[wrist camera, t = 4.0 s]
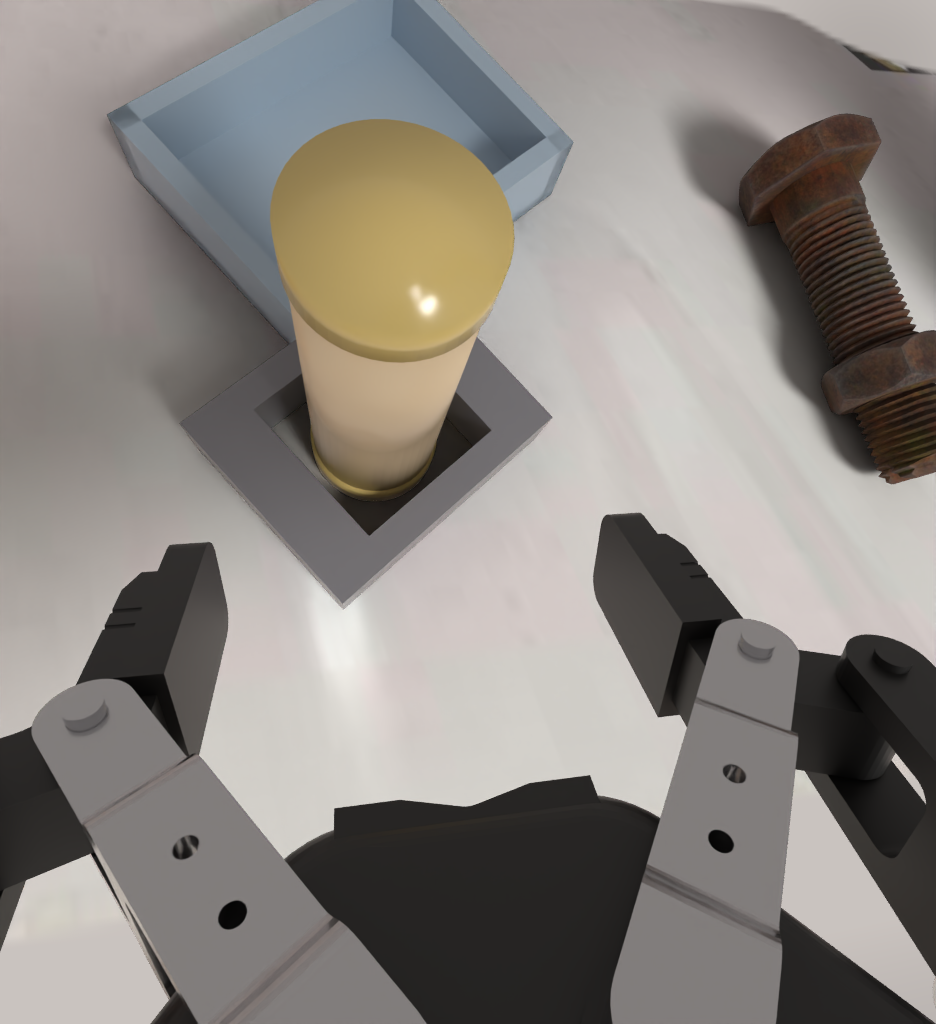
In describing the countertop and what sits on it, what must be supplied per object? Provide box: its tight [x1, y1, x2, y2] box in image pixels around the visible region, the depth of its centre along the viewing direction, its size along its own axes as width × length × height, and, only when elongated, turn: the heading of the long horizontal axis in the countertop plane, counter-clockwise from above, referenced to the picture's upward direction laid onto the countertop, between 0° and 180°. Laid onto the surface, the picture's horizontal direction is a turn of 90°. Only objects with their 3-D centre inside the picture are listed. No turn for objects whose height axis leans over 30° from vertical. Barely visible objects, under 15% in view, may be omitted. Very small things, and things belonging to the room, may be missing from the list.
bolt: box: [739, 114, 936, 484], centre depth 28 cm, size 6×5×15 cm
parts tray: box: [107, 0, 573, 344], centre depth 25 cm, size 14×11×3 cm
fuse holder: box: [180, 337, 552, 609], centre depth 23 cm, size 10×8×2 cm
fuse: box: [270, 119, 514, 501], centre depth 18 cm, size 5×5×13 cm
